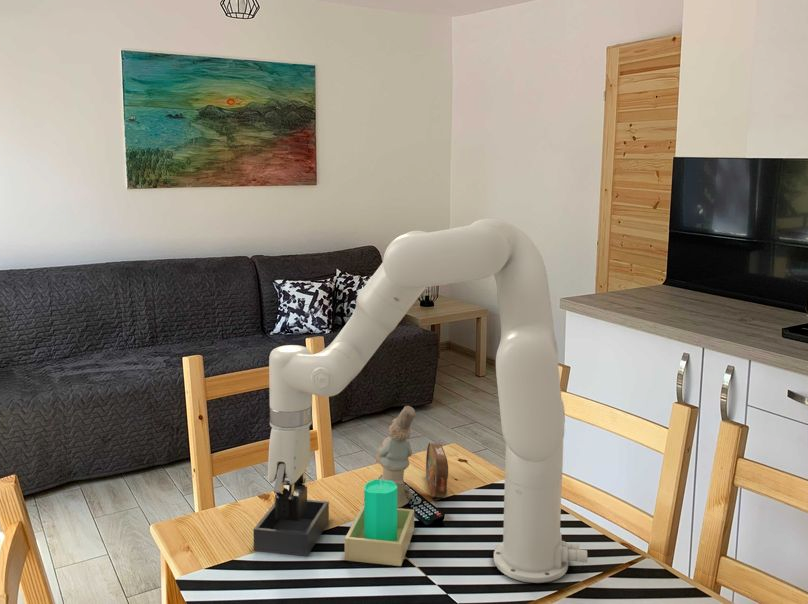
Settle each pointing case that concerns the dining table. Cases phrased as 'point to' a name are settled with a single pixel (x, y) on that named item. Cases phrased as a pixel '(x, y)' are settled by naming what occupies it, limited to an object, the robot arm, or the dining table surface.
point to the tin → (436, 470)
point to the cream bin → (379, 541)
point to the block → (296, 501)
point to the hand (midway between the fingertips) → (291, 510)
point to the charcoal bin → (292, 530)
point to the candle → (380, 510)
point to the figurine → (397, 454)
